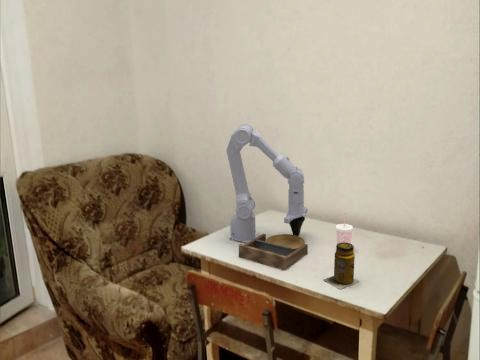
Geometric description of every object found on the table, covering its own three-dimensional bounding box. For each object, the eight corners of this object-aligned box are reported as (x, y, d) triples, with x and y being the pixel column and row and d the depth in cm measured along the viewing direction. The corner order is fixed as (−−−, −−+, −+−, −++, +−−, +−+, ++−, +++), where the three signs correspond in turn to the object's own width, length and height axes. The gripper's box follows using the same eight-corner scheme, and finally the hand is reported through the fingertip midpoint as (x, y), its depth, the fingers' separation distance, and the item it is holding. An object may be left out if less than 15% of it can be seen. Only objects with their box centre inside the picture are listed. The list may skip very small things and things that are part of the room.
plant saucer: (260, 242, 173) (260, 236, 173) (296, 238, 177) (296, 231, 176) (272, 258, 160) (272, 251, 159) (311, 253, 163) (311, 246, 162)
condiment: (359, 281, 142) (361, 246, 138) (340, 289, 137) (341, 253, 134) (342, 273, 147) (343, 238, 144) (323, 280, 143) (324, 245, 140)
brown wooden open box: (238, 256, 161) (238, 245, 160) (263, 242, 173) (263, 231, 172) (285, 270, 150) (285, 257, 149) (307, 253, 163) (307, 241, 161)
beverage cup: (331, 250, 164) (332, 214, 161) (340, 245, 169) (341, 209, 165) (346, 255, 160) (347, 217, 157) (355, 249, 165) (356, 213, 161)
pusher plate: (254, 250, 166) (254, 240, 165) (256, 249, 167) (255, 239, 166) (292, 260, 157) (292, 249, 156) (293, 259, 158) (293, 248, 157)
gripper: (295, 208, 162) (295, 244, 166) (314, 198, 174) (314, 231, 177) (279, 205, 167) (279, 240, 170) (298, 195, 178) (298, 227, 181)
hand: (295, 235), depth 174 cm, fingers closed
